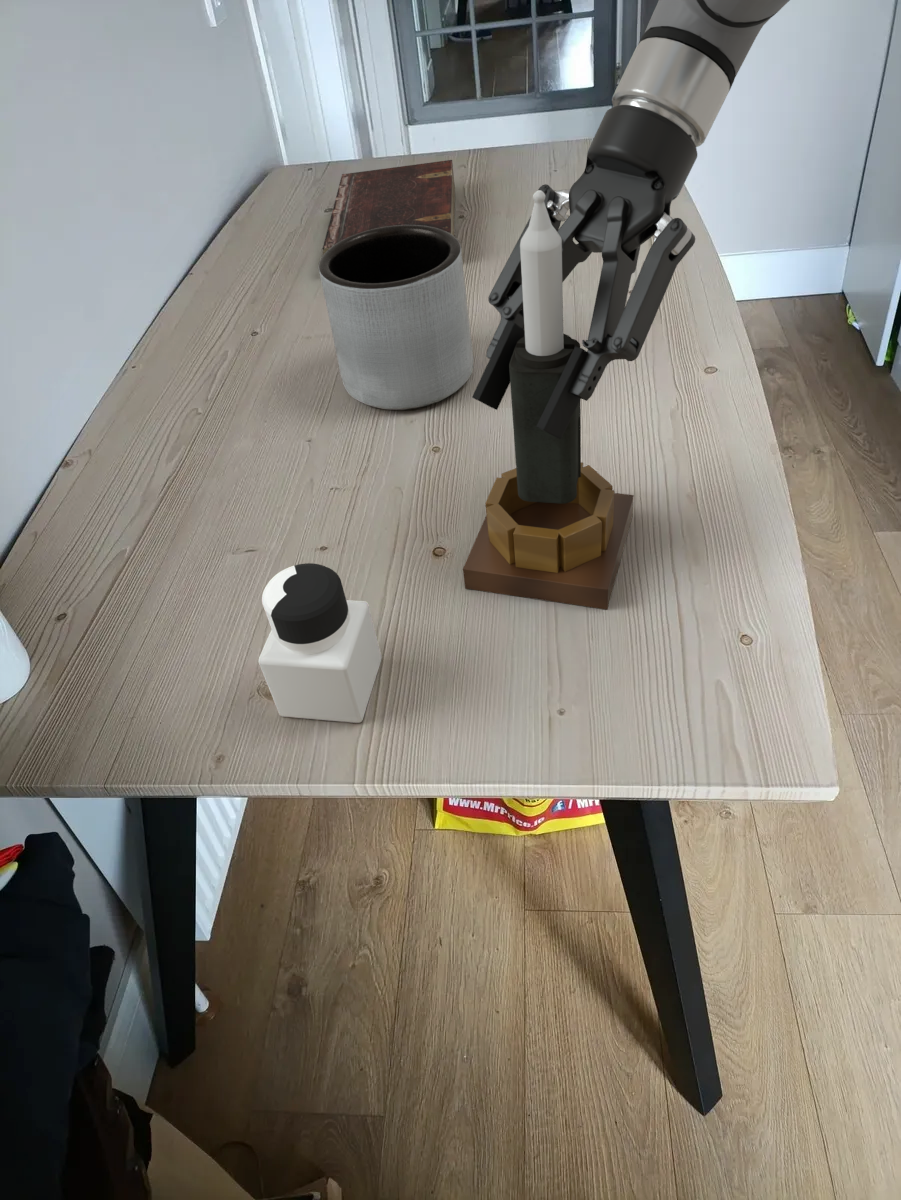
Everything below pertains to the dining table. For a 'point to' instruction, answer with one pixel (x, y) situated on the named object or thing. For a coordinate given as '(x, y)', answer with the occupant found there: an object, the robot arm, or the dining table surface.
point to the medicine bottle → (318, 646)
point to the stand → (551, 543)
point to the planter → (398, 315)
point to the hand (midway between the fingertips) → (516, 417)
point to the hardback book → (393, 200)
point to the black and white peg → (542, 370)
